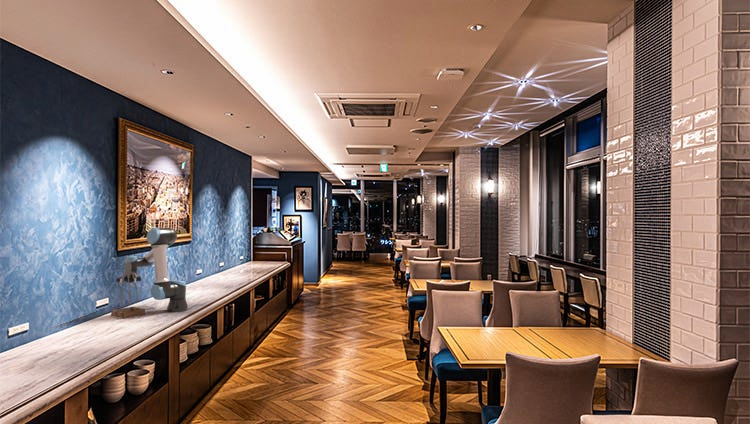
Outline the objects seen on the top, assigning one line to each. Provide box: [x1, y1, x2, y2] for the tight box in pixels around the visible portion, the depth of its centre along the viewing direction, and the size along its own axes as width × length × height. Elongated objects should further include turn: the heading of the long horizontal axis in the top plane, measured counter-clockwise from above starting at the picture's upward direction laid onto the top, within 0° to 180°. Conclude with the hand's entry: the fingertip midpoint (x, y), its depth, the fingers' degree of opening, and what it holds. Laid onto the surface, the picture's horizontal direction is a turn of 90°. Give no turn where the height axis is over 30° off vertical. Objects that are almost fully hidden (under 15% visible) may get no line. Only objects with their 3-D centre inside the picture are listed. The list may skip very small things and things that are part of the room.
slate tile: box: [136, 304, 155, 311], centre depth 372 cm, size 14×14×1 cm
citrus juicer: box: [120, 261, 139, 305], centre depth 349 cm, size 11×10×30 cm
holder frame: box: [110, 306, 146, 319], centre depth 350 cm, size 16×17×4 cm
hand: (128, 281), depth 346 cm, fingers closed on citrus juicer, 9 cm apart
